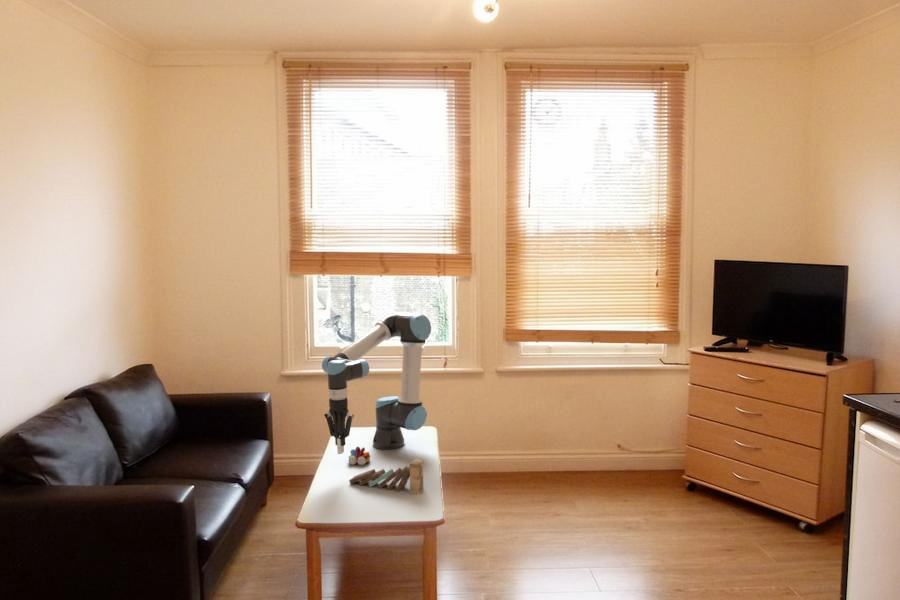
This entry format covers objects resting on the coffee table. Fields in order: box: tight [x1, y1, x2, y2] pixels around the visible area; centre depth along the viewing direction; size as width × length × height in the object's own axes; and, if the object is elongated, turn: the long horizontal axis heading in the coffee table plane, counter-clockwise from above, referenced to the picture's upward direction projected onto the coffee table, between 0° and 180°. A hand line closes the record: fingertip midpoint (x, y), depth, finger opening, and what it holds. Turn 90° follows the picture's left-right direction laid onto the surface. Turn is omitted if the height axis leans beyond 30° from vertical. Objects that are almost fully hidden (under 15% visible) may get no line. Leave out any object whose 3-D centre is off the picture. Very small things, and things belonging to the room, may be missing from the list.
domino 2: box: [358, 468, 386, 486], centre depth 248 cm, size 2×5×10 cm
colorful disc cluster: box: [348, 446, 371, 466], centre depth 272 cm, size 8×10×7 cm
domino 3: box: [377, 467, 403, 489], centre depth 245 cm, size 2×5×10 cm
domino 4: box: [387, 465, 409, 491], centre depth 244 cm, size 2×5×10 cm
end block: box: [409, 458, 424, 495], centre depth 241 cm, size 5×4×12 cm
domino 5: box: [395, 465, 410, 492], centre depth 243 cm, size 2×5×10 cm, turn 160°
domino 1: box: [348, 468, 377, 485], centre depth 249 cm, size 2×5×10 cm
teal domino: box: [367, 468, 395, 488], centre depth 246 cm, size 2×5×10 cm
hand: (340, 452), depth 255 cm, fingers closed
